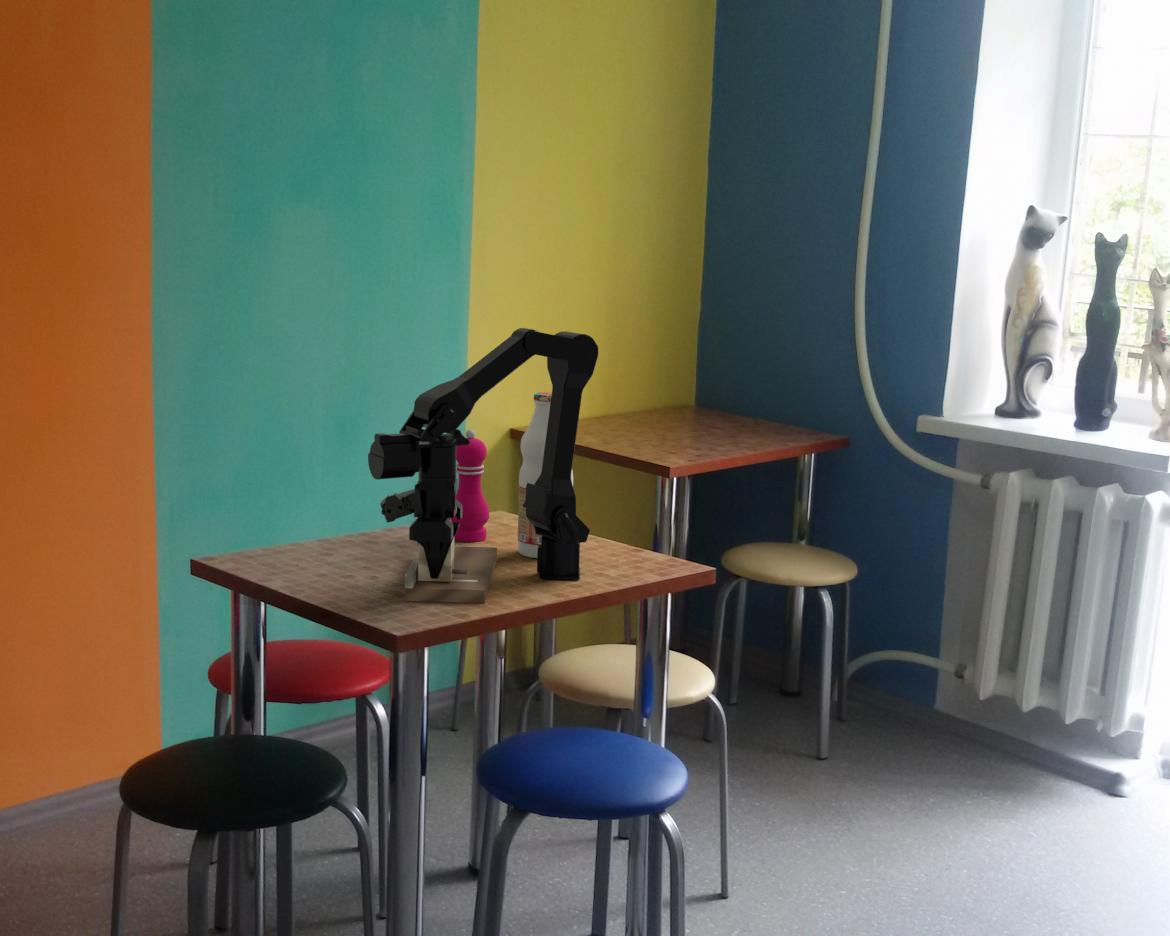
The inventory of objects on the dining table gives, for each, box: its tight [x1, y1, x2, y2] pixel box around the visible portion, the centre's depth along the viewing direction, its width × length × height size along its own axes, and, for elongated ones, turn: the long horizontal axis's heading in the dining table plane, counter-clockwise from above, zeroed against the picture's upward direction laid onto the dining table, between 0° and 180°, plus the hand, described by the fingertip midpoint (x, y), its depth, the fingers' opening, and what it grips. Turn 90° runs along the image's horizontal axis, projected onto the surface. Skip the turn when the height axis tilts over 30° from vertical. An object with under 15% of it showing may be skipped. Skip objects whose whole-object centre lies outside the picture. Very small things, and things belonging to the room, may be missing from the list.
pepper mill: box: [450, 428, 490, 543], centre depth 249 cm, size 7×7×20 cm
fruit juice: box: [517, 391, 574, 559], centre depth 238 cm, size 9×9×28 cm
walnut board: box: [404, 545, 498, 604], centre depth 221 cm, size 12×28×4 cm, turn 0°
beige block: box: [417, 538, 467, 582], centre depth 213 cm, size 7×5×6 cm
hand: (436, 574), depth 214 cm, fingers closed on beige block, 5 cm apart
